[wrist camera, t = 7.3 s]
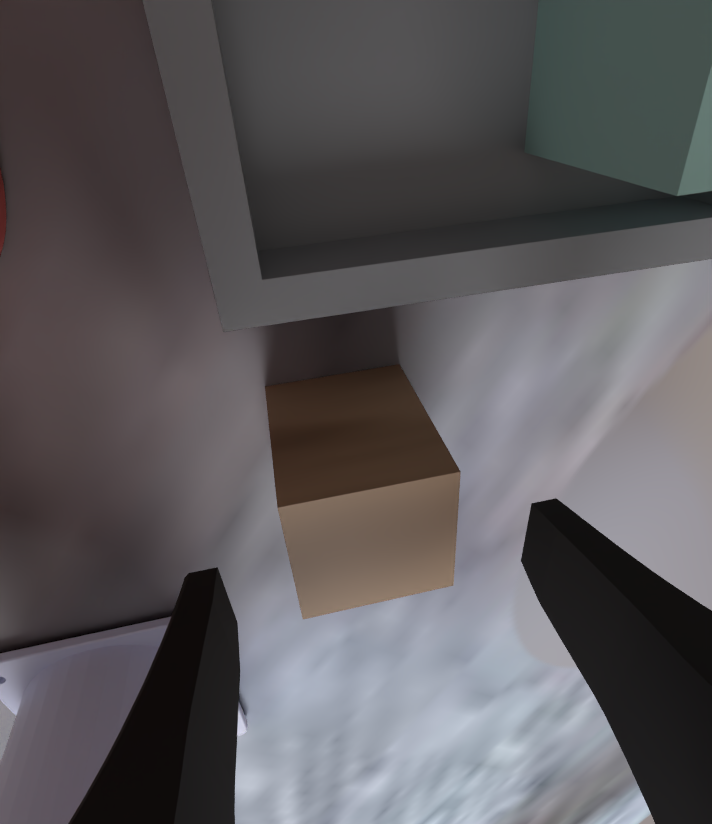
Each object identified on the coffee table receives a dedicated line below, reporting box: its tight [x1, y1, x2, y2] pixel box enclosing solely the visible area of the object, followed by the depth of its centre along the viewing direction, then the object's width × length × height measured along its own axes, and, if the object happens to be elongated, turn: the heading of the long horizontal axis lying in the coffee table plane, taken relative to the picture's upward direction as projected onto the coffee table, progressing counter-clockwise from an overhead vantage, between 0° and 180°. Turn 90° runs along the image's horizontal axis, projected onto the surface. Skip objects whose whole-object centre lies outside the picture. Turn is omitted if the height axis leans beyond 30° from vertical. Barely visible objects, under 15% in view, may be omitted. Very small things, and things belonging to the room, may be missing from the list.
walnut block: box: [265, 364, 460, 619], centre depth 14 cm, size 4×4×5 cm
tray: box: [142, 0, 712, 332], centre depth 10 cm, size 9×13×2 cm
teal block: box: [524, 0, 712, 196], centre depth 9 cm, size 4×4×5 cm
